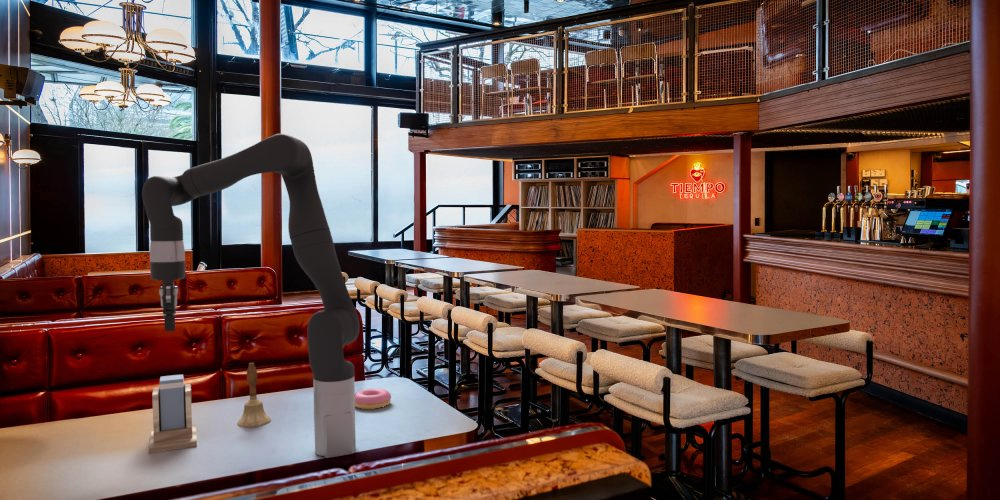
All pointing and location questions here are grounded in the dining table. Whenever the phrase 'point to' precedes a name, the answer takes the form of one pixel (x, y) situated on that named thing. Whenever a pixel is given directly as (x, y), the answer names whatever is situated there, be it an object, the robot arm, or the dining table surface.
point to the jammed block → (172, 402)
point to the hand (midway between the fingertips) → (170, 330)
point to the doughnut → (372, 398)
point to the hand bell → (253, 404)
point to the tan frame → (174, 436)
